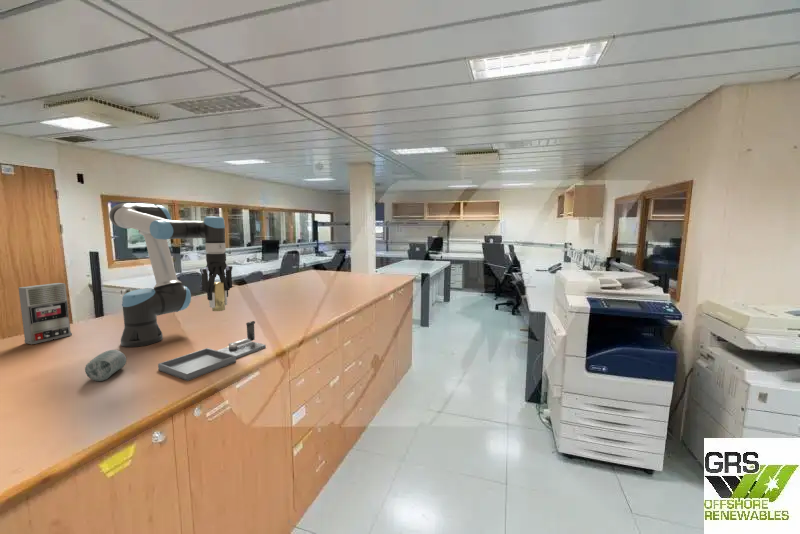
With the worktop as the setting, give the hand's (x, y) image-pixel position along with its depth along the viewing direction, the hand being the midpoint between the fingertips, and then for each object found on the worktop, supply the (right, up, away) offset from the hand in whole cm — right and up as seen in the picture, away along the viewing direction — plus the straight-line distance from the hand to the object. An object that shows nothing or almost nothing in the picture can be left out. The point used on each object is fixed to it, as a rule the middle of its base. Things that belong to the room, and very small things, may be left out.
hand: (218, 305), depth 146 cm
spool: (-24, -21, -28) cm, 43 cm away
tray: (+3, -20, -20) cm, 29 cm away
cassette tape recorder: (-81, -16, +7) cm, 83 cm away
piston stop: (0, -2, 0) cm, 2 cm away
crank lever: (+11, -17, -1) cm, 20 cm away
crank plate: (+11, -19, -4) cm, 22 cm away
